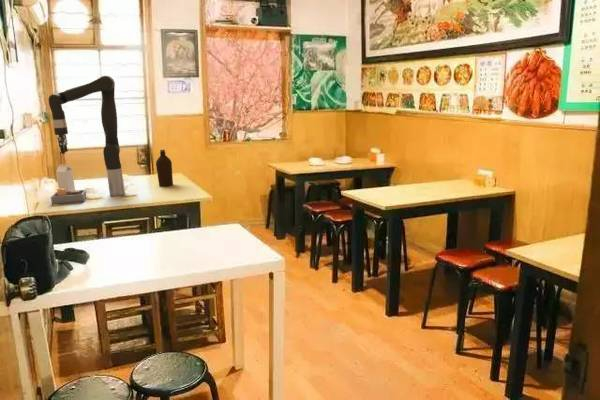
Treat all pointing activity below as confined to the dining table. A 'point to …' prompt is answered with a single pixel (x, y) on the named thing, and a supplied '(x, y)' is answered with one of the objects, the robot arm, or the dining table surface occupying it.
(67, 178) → the milk carton
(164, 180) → the olive oil
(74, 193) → the walnut cube
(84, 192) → the tote
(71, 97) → the robot arm
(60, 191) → the terracotta cylinder
